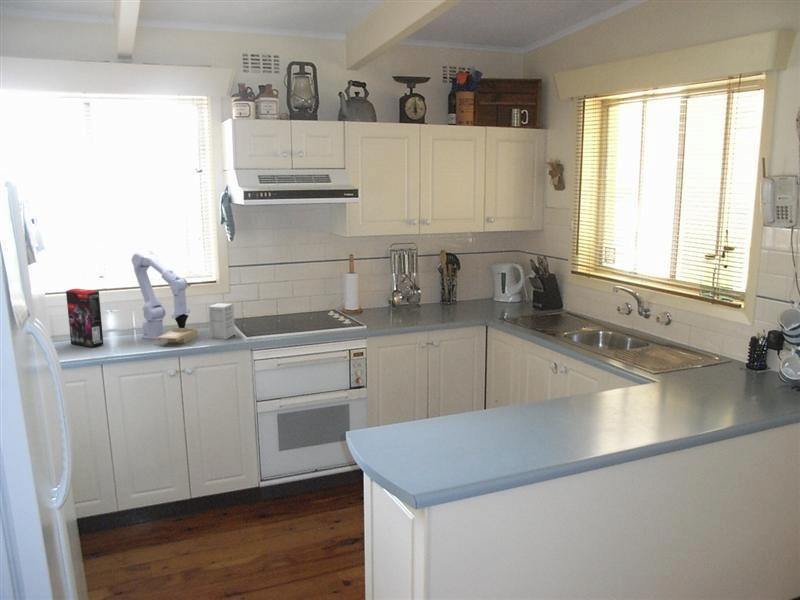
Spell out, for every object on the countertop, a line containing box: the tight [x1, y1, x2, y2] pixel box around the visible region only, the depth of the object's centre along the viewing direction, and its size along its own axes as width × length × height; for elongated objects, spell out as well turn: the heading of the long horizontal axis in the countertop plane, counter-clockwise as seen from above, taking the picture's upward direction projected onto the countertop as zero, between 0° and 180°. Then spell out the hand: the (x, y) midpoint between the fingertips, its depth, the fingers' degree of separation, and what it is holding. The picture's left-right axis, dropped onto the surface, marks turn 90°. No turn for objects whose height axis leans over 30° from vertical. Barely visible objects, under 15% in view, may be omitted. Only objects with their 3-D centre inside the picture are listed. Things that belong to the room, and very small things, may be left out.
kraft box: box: [167, 328, 199, 343], centre depth 336 cm, size 9×14×4 cm, turn 169°
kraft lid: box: [156, 327, 191, 341], centre depth 328 cm, size 10×14×3 cm
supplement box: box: [208, 302, 236, 340], centre depth 341 cm, size 10×9×17 cm
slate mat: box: [153, 334, 210, 347], centre depth 335 cm, size 19×22×1 cm
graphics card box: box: [65, 288, 104, 348], centre depth 327 cm, size 17×7×27 cm, turn 62°
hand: (182, 329), depth 335 cm, fingers closed
